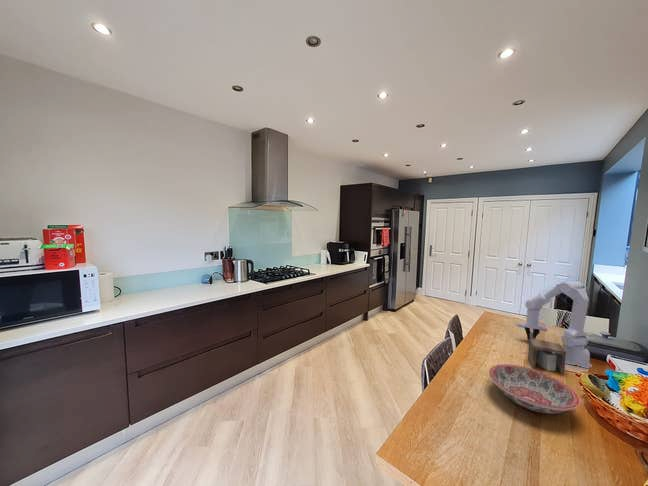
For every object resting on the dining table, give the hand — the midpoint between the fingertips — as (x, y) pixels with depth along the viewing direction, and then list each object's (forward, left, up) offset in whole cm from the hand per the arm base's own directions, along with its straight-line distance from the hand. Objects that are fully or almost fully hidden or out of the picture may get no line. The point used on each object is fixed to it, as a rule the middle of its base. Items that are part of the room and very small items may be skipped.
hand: (530, 339), depth 158 cm
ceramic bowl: (+13, +68, -2) cm, 69 cm away
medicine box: (0, +31, -2) cm, 31 cm away
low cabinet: (0, +31, -2) cm, 31 cm away
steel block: (+1, +10, -2) cm, 10 cm away
